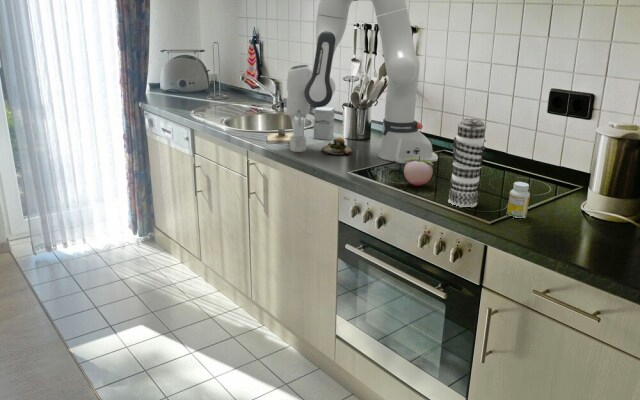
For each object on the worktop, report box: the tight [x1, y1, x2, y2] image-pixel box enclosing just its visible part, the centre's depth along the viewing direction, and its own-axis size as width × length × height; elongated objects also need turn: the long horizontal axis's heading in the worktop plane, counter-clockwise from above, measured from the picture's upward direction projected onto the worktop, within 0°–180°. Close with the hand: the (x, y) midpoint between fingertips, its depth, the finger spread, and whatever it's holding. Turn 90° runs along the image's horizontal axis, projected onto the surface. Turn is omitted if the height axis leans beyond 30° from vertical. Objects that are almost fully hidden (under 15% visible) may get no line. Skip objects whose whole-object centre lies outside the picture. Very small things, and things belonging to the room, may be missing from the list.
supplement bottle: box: [506, 181, 531, 219], centre depth 157 cm, size 5×5×10 cm
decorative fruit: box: [403, 156, 435, 187], centre depth 179 cm, size 9×8×10 cm
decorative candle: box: [447, 118, 488, 208], centre depth 164 cm, size 9×9×25 cm
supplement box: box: [313, 106, 336, 141], centre depth 237 cm, size 7×7×13 cm
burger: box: [321, 133, 353, 157], centre depth 216 cm, size 12×12×8 cm
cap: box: [289, 135, 307, 153], centre depth 219 cm, size 6×6×5 cm
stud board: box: [266, 128, 294, 144], centre depth 233 cm, size 12×12×4 cm
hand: (297, 143), depth 219 cm, fingers open, 8 cm apart
